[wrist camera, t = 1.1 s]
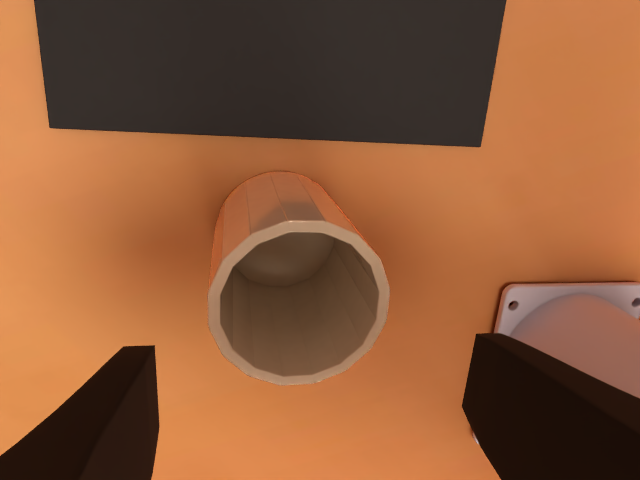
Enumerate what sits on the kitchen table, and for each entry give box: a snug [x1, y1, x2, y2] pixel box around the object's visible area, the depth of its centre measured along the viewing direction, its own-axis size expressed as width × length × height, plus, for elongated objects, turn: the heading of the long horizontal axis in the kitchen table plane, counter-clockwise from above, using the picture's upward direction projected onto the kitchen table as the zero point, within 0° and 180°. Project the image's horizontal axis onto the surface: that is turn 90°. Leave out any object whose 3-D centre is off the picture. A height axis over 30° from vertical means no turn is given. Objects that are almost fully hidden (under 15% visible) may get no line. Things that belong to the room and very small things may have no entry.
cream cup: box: [207, 171, 390, 385], centre depth 17 cm, size 5×5×7 cm
